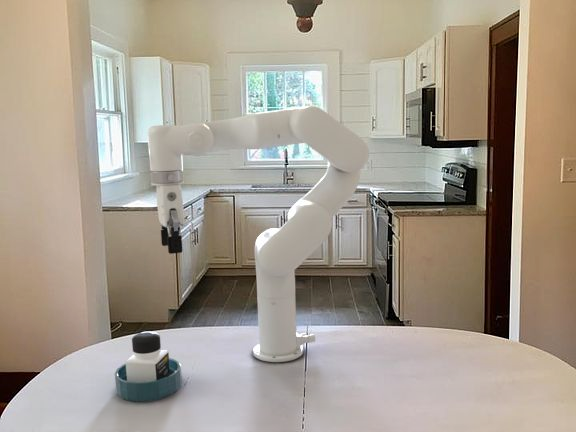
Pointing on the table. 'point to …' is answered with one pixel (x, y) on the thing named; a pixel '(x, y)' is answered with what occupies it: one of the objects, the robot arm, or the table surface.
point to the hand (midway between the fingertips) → (171, 248)
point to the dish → (148, 385)
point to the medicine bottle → (147, 359)
